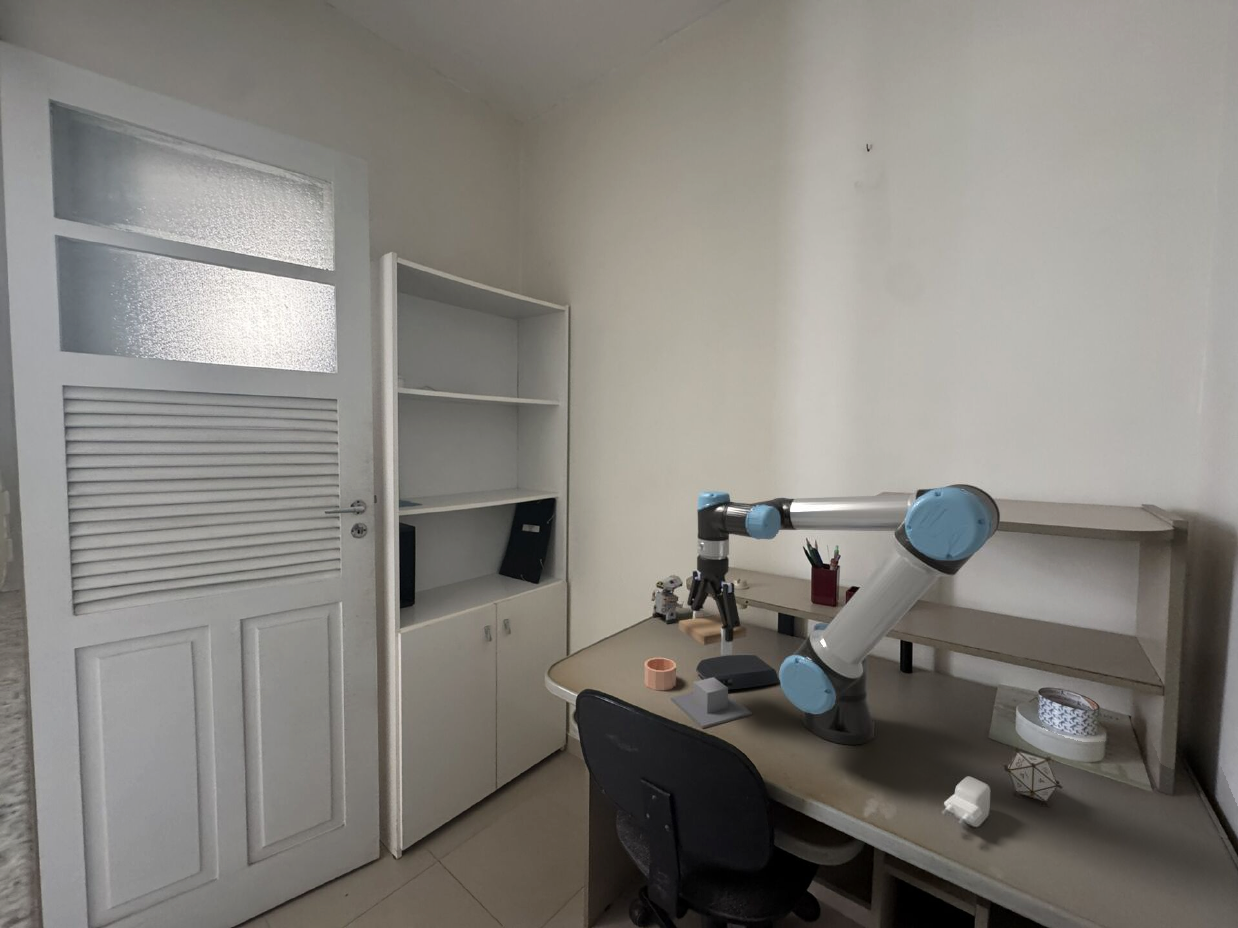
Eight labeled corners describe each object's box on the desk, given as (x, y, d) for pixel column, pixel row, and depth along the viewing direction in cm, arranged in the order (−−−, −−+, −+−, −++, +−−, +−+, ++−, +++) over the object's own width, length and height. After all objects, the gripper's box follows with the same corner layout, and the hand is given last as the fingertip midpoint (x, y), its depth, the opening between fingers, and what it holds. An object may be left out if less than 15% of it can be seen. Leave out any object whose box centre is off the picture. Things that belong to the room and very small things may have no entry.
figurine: (689, 619, 187) (689, 578, 186) (663, 625, 181) (664, 583, 180) (673, 611, 195) (673, 572, 194) (648, 617, 189) (649, 576, 188)
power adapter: (967, 847, 84) (968, 812, 84) (935, 828, 88) (936, 795, 88) (994, 818, 91) (995, 786, 90) (963, 801, 95) (964, 771, 94)
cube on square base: (751, 714, 124) (752, 691, 123) (702, 728, 118) (703, 704, 117) (716, 688, 136) (717, 667, 136) (670, 699, 130) (671, 678, 130)
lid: (746, 636, 123) (746, 628, 123) (704, 645, 118) (704, 636, 118) (718, 621, 133) (718, 613, 133) (678, 628, 128) (678, 620, 128)
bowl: (681, 686, 137) (681, 667, 137) (654, 692, 134) (654, 673, 134) (665, 672, 145) (665, 655, 145) (639, 678, 141) (639, 660, 141)
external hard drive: (693, 670, 145) (694, 656, 145) (754, 664, 151) (755, 650, 150) (715, 693, 133) (716, 677, 132) (780, 685, 138) (781, 670, 138)
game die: (1035, 823, 95) (1039, 800, 89) (990, 780, 102) (991, 756, 96) (1071, 794, 96) (1078, 770, 90) (1024, 754, 103) (1027, 729, 98)
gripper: (674, 547, 134) (673, 630, 135) (730, 568, 113) (728, 666, 114) (698, 544, 137) (697, 625, 138) (757, 565, 116) (755, 660, 117)
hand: (711, 644), depth 126 cm, fingers closed on lid, 11 cm apart
